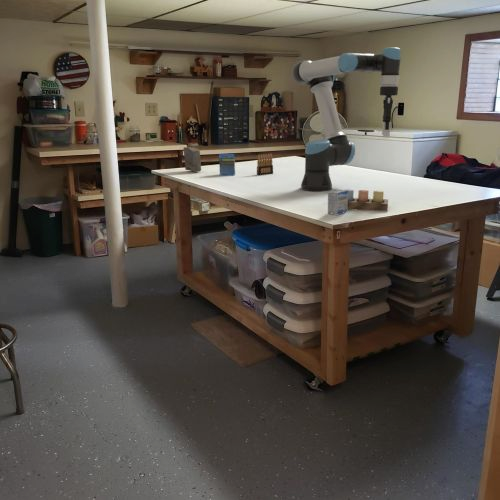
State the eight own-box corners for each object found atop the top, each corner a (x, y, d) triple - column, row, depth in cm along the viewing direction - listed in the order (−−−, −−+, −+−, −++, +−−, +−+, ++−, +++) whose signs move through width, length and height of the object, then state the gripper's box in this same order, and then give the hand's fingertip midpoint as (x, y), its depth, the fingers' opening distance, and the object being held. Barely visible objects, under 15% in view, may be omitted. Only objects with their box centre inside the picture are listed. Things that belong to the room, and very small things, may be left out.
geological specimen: (201, 172, 310) (200, 147, 306) (192, 173, 307) (191, 148, 302) (193, 170, 319) (192, 146, 314) (184, 171, 315) (183, 146, 311)
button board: (337, 208, 212) (337, 201, 211) (339, 204, 220) (339, 197, 219) (387, 211, 207) (387, 203, 206) (387, 206, 215) (388, 199, 214)
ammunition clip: (271, 173, 305) (271, 152, 301) (273, 173, 303) (273, 153, 300) (256, 175, 299) (256, 154, 295) (258, 175, 297) (258, 154, 294)
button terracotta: (357, 204, 212) (358, 191, 210) (358, 202, 215) (358, 189, 214) (367, 204, 211) (368, 192, 209) (368, 202, 214) (368, 190, 213)
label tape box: (235, 174, 303) (235, 153, 299) (234, 175, 299) (234, 154, 295) (220, 174, 303) (220, 153, 300) (219, 175, 300) (218, 154, 296)
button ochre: (372, 205, 210) (373, 192, 209) (373, 203, 214) (373, 190, 212) (382, 205, 209) (383, 192, 208) (382, 203, 213) (383, 190, 211)
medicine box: (336, 215, 201) (337, 193, 199) (327, 213, 204) (327, 192, 202) (347, 211, 207) (348, 190, 204) (338, 210, 210) (338, 189, 207)
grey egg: (342, 203, 213) (343, 191, 212) (343, 201, 217) (344, 189, 215) (352, 204, 212) (353, 191, 211) (353, 202, 216) (354, 189, 214)
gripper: (400, 86, 211) (395, 138, 217) (396, 85, 234) (392, 133, 241) (381, 86, 212) (377, 138, 219) (379, 85, 236) (376, 133, 242)
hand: (385, 136), depth 230 cm, fingers open, 13 cm apart
